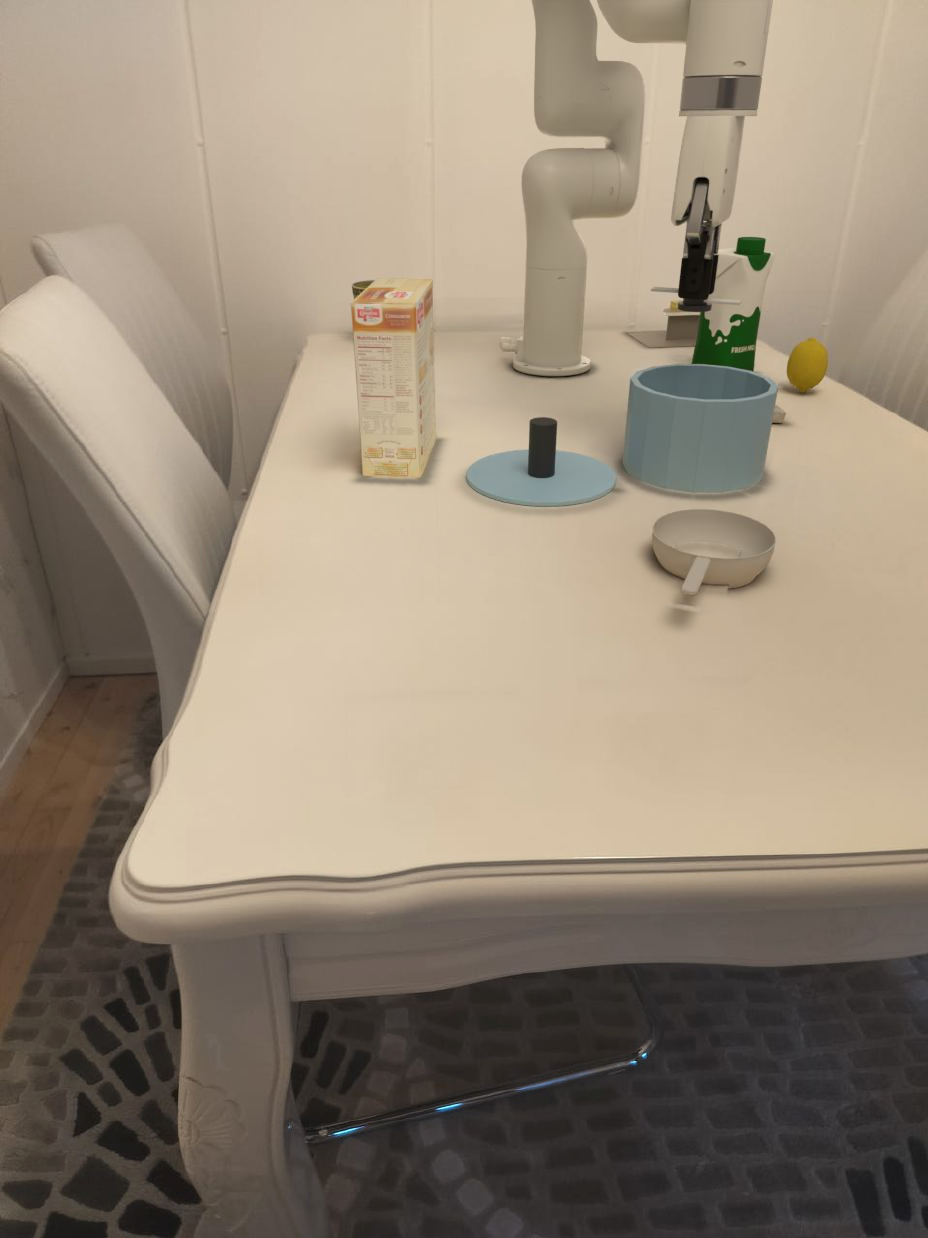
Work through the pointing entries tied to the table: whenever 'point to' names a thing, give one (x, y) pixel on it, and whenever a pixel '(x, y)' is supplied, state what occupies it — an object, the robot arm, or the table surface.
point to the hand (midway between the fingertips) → (696, 294)
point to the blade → (697, 304)
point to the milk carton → (735, 306)
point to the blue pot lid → (541, 472)
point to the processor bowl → (698, 427)
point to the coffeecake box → (395, 375)
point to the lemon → (807, 364)
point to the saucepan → (720, 530)
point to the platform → (673, 329)
